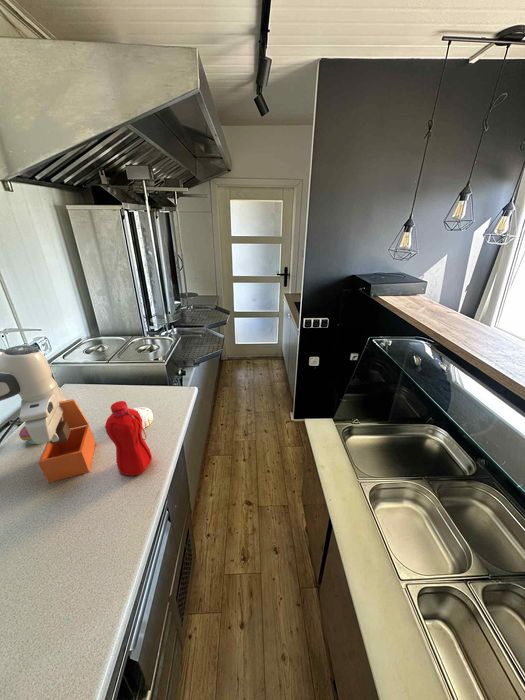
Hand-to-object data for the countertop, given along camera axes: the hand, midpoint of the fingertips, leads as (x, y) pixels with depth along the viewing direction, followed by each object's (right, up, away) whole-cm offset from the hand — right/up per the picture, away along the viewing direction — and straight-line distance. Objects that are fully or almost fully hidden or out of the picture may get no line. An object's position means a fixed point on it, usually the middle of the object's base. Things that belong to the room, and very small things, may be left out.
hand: (58, 433), depth 89 cm
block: (0, -1, +1) cm, 2 cm away
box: (-1, -12, +8) cm, 14 cm away
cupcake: (-20, -8, +18) cm, 28 cm away
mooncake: (+13, -3, +26) cm, 29 cm away
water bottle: (+23, -13, +6) cm, 27 cm away
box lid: (-2, +4, +4) cm, 6 cm away
